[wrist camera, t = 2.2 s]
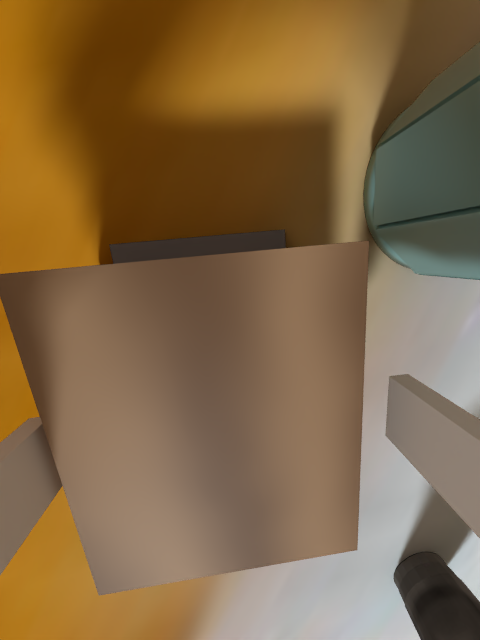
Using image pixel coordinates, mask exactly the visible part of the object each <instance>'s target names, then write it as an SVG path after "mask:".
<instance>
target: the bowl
mask: <svg viewBox="0 0 480 640" xmlns="http://www.w3.org/2000/svg"><path fill="white" fill-rule="evenodd" d="M364 210H365V217H366V221H367V224H368V228H369V230H370V232H371V235H372V237H373V238H374V240H375V242H376V243H377V245H378V246H379V248H380V249H381V250H382V251H383V252H384V253H385V254H386V255H387V256H388V257H389V258H390V259H392V260H393V261H395V262H396V263H398V264H400V265H402V266H404V267H407V268H410V269H412V270H413V271H414V273H416V274H419V275H429V276H441V277H452V278H464V279H475V280H480V42H479V43H477V44H476V45H475V46H474V47H473V48H471V49H470V50H469V51H468V52H466V53H465V54H464V55H463V56H462V57H460V58H459V59H458V60H457V61H455V62H454V63H453V64H452V65H450V66H449V67H448V68H447V69H446V70H444V71H443V72H442V73H441V74H439V75H438V76H437V77H436V78H435V79H433V80H432V81H431V82H430V83H429V85H428V86H427V87H426V88H425V89H424V91H423V92H422V93H421V94H420V95H419V97H418V98H417V99H416V100H415V101H414V103H413V104H412V105H410V106H409V107H408V108H407V109H406V110H404V111H403V112H402V113H401V114H400V115H399V116H398V117H397V118H396V119H395V120H394V121H393V122H392V123H391V124H390V125H389V127H388V128H387V129H386V131H385V132H384V133H383V135H382V137H381V138H380V140H379V142H378V143H377V145H376V147H375V149H374V152H373V154H372V156H371V159H370V162H369V165H368V168H367V172H366V177H365V183H364Z"/></svg>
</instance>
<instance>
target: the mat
mask: <svg viewBox="0 0 480 640" xmlns="http://www.w3.org/2000/svg"><path fill="white" fill-rule="evenodd" d="M282 248H286V245H285V230H273V231H262V232H250V233H238V234H227V235H215V236H203V237H192V238H180V239H168V240H157V241H145V242H133V243H122V244H110V250H111V255H112V259H113V264H117V263H128V262H139V261H150V260H161V259H172V258H183V257H194V256H205V255H216V254H227V253H238V252H249V251H260V250H271V249H282Z"/></svg>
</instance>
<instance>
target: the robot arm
mask: <svg viewBox="0 0 480 640" xmlns="http://www.w3.org/2000/svg"><path fill="white" fill-rule="evenodd" d="M386 436H387V437H388V439H389V440H390V441H391V442H392V443H393V444H394V445H395V446H396V447H397V448H398V449H399V451H400V452H401V453H402V454H403V455H404V456H405V457H406V458H407V459H408V460H409V461H410V463H411V464H412V465H413V466H414V467H415V468H416V469H417V470H418V471H419V472H420V474H421V475H422V476H423V477H424V478H425V479H426V480H427V481H428V482H429V483H430V484H431V486H432V487H433V488H434V489H435V490H436V491H437V492H438V493H439V494H440V495H441V497H442V498H443V499H444V500H445V501H446V502H447V503H448V504H449V505H450V506H451V507H452V509H453V510H454V511H455V512H456V513H457V514H458V515H459V516H460V517H461V518H462V519H463V521H464V522H465V523H466V524H467V525H468V526H469V527H470V528H471V529H472V530H473V532H474V533H475V534H476V535H477V536H478V537H479V538H480V420H479V419H478V418H476V417H475V416H473V415H471V414H470V413H468V412H467V411H465V410H464V409H462V408H460V407H459V406H457V405H456V404H454V403H453V402H451V401H449V400H448V399H446V398H445V397H443V396H441V395H440V394H438V393H437V392H435V391H434V390H432V389H430V388H429V387H427V386H426V385H424V384H423V383H421V382H419V381H418V380H416V379H415V378H413V377H412V376H410V375H408V374H405V375H397V376H389V389H388V405H387V420H386ZM62 486H63V485H62V482H61V479H60V476H59V473H58V470H57V467H56V464H55V461H54V458H53V455H52V452H51V449H50V446H49V443H48V440H47V437H46V433H45V430H44V427H43V424H42V421H41V418H40V417H37V418H29V419H28V420H27V421H26V422H25V423H23V424H22V425H21V426H20V427H19V428H17V429H16V430H15V431H14V432H13V433H11V434H10V435H9V436H8V437H7V438H6V439H4V440H3V441H2V442H1V443H0V575H1V573H2V572H3V570H4V569H5V568H6V566H7V565H8V563H9V562H10V560H11V559H12V557H13V556H14V555H15V553H16V552H17V550H18V549H19V547H20V546H21V545H22V543H23V542H24V540H25V539H26V537H27V536H28V534H29V533H30V532H31V530H32V529H33V527H34V526H35V524H36V523H37V522H38V520H39V519H40V517H41V516H42V514H43V513H44V511H45V510H46V509H47V507H48V506H49V504H50V503H51V501H52V500H53V498H54V497H55V496H56V494H57V493H58V491H59V490H60V488H61V487H62Z"/></svg>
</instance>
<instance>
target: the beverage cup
mask: <svg viewBox="0 0 480 640" xmlns="http://www.w3.org/2000/svg"><path fill="white" fill-rule="evenodd" d="M394 582H395V584H396V586H397V588H398V589H399V592H400V594H401V597H402V599H403V601H404V603H405V607H406V609H407V611H408V613H409V615H410V618H411V620H412V622H413V624H414V626H415V628H416V630H417V632H418V634H419V637H420V639H421V640H480V602H479V600H478V599H477V598H476V597H475V596H474V595H473V593H472V592H471V591H470V590H469V589H468V587H467V586H466V585H465V584H464V583H463V582H462V580H461V579H460V578H458V577H457V576H456V575H455V573H454V572H453V571H452V570H451V569H450V568H449V567H448V566H447V565H446V563H445V562H444V561H443V559H442V558H441V557H440V556H439V555H437V554H434V553H431V552H422V553H418V554H415V555H413V556H410V557H408V558H407V559H406V560H404V561H403V562H402V563H401V564H400V565H399V566H398V567H397V569H396V571H395V574H394Z"/></svg>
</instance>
